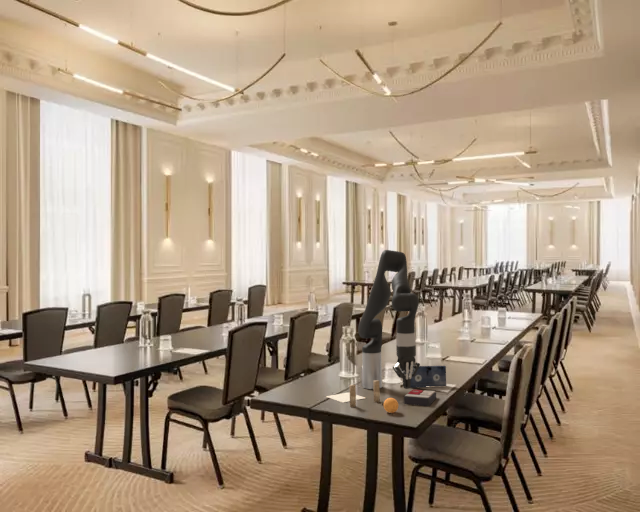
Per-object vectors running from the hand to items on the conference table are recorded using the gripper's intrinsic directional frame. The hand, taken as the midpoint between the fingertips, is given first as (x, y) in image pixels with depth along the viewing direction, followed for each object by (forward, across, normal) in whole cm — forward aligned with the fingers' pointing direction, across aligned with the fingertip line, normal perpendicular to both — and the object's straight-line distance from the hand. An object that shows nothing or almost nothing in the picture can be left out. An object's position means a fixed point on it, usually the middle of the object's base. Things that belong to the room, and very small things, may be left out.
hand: (406, 388), depth 221 cm
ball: (+9, 0, -10) cm, 13 cm away
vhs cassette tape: (+12, -44, -34) cm, 57 cm away
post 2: (+12, -7, -27) cm, 30 cm away
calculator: (+12, -23, -16) cm, 30 cm away
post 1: (+12, +6, -27) cm, 30 cm away
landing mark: (+11, 0, -41) cm, 42 cm away
